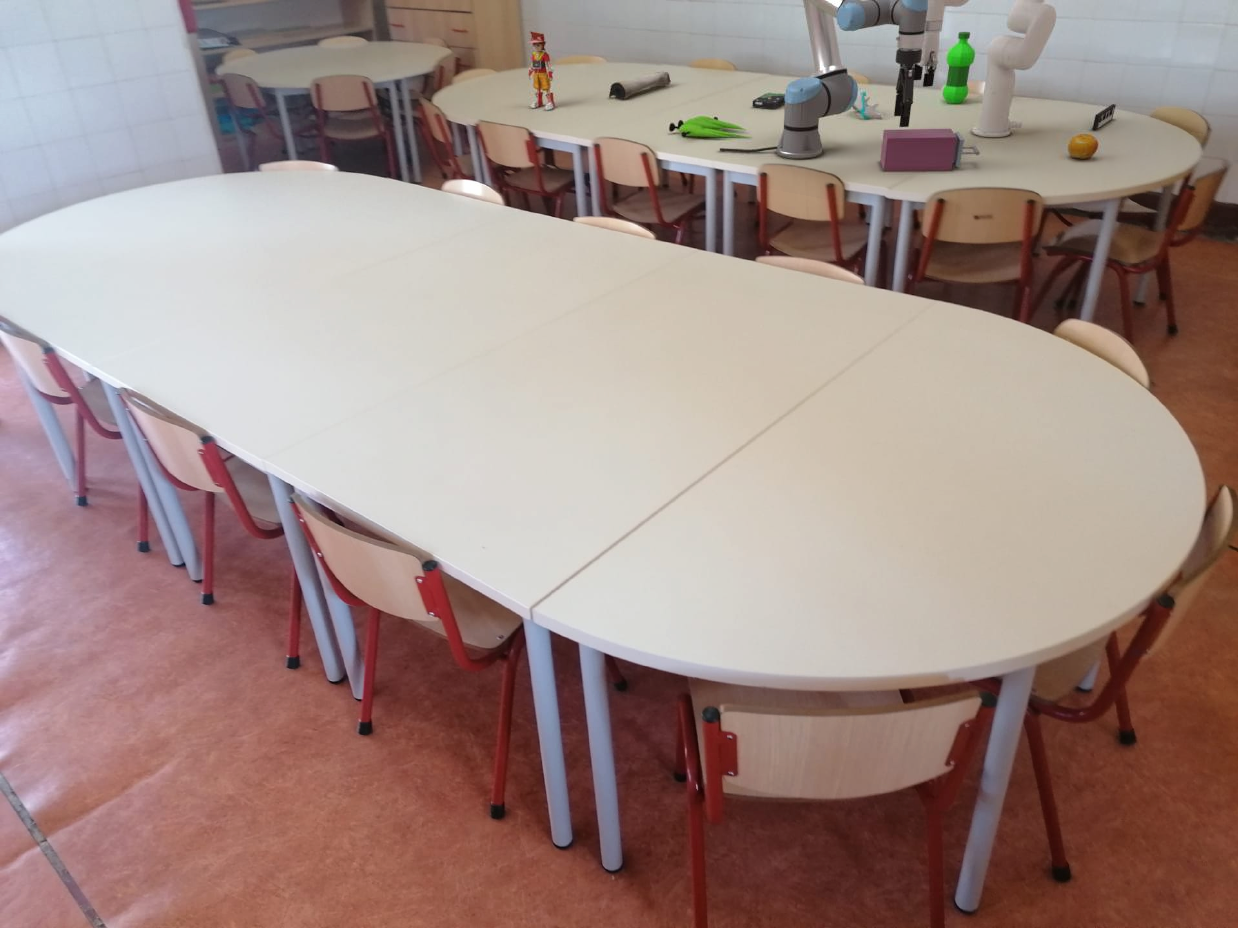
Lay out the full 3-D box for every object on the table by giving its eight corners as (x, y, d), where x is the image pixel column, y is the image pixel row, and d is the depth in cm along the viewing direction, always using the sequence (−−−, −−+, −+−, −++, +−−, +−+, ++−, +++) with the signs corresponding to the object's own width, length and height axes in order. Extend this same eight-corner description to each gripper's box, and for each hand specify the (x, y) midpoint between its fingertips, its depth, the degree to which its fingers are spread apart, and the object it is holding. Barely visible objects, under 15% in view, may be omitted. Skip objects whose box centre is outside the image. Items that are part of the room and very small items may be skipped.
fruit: (1064, 149, 286) (1082, 126, 283) (1061, 151, 293) (1078, 129, 290) (1086, 163, 284) (1105, 141, 281) (1083, 166, 292) (1101, 144, 289)
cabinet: (946, 161, 294) (951, 128, 288) (951, 170, 286) (956, 137, 280) (880, 161, 297) (883, 129, 291) (883, 171, 289) (887, 138, 283)
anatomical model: (844, 88, 347) (870, 81, 346) (847, 115, 353) (872, 108, 352) (856, 97, 335) (882, 90, 334) (858, 125, 341) (884, 118, 340)
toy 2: (658, 135, 331) (731, 150, 319) (659, 121, 329) (733, 135, 316) (693, 123, 352) (763, 136, 339) (694, 110, 349) (765, 122, 336)
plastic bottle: (973, 101, 354) (984, 32, 339) (955, 106, 349) (966, 36, 335) (952, 97, 361) (962, 29, 346) (934, 102, 356) (944, 33, 342)
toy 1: (525, 109, 381) (517, 32, 364) (534, 104, 388) (527, 28, 371) (550, 110, 377) (543, 32, 360) (559, 105, 384) (553, 28, 367)
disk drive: (775, 110, 359) (790, 101, 369) (775, 102, 358) (790, 94, 368) (751, 108, 364) (767, 99, 374) (752, 100, 362) (767, 92, 372)
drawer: (973, 158, 292) (977, 131, 287) (978, 166, 285) (983, 139, 280) (892, 159, 295) (895, 133, 291) (895, 167, 288) (899, 141, 283)
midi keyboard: (1095, 130, 313) (1099, 115, 310) (1091, 129, 314) (1095, 115, 311) (1112, 119, 323) (1116, 104, 320) (1108, 118, 324) (1112, 104, 321)
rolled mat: (651, 76, 408) (662, 61, 399) (662, 93, 408) (674, 79, 400) (605, 92, 391) (616, 77, 383) (617, 110, 391) (628, 95, 383)
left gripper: (891, 41, 283) (884, 112, 295) (902, 57, 262) (893, 132, 274) (916, 41, 282) (908, 111, 294) (928, 56, 261) (919, 131, 273)
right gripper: (908, 22, 291) (901, 78, 301) (928, 31, 277) (920, 90, 287) (930, 21, 292) (922, 77, 301) (952, 29, 277) (943, 88, 287)
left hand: (901, 121), depth 284 cm, fingers open, 13 cm apart
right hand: (921, 83), depth 294 cm, fingers open, 9 cm apart
